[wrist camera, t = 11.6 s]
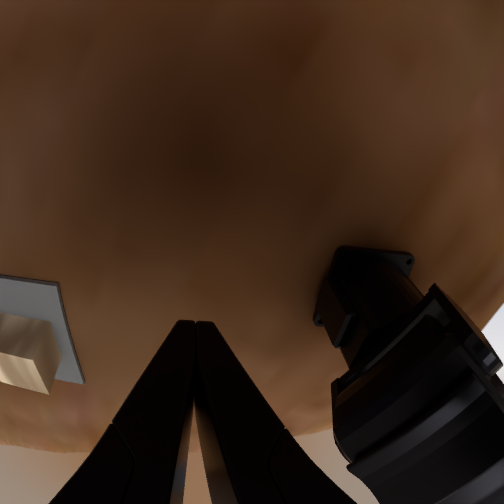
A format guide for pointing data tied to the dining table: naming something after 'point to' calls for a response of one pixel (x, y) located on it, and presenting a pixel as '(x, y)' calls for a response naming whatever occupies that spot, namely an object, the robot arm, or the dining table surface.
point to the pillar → (28, 353)
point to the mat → (42, 317)
